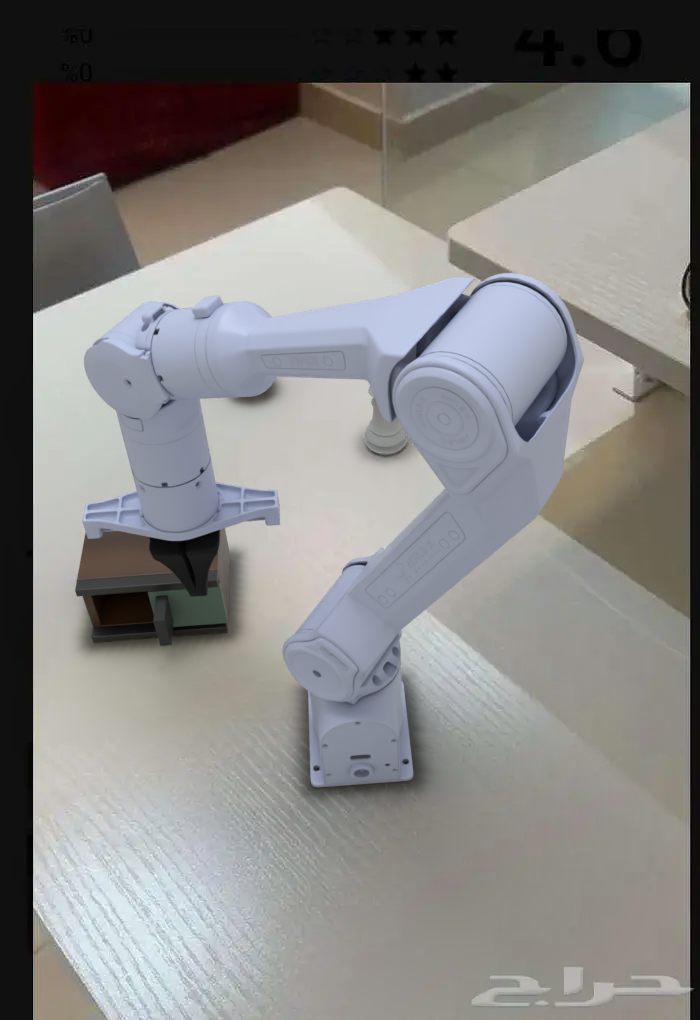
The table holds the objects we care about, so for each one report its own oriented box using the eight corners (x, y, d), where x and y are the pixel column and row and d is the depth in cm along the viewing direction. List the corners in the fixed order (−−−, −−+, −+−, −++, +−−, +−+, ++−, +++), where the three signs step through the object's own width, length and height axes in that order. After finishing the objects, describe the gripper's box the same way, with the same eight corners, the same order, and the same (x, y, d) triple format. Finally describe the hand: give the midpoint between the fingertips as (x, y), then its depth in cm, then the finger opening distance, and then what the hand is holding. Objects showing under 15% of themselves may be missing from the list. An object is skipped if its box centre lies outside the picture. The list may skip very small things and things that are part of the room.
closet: (227, 633, 94) (216, 580, 89) (92, 642, 94) (74, 590, 89) (230, 557, 100) (220, 504, 96) (104, 567, 100) (88, 514, 95)
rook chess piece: (358, 436, 112) (355, 375, 107) (397, 425, 113) (396, 364, 108) (374, 461, 109) (371, 400, 104) (414, 450, 110) (413, 389, 105)
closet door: (226, 648, 91) (219, 612, 88) (154, 653, 91) (144, 617, 88) (227, 618, 94) (220, 581, 90) (157, 623, 94) (148, 587, 90)
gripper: (271, 418, 79) (288, 544, 88) (77, 432, 79) (114, 557, 88) (271, 482, 74) (289, 609, 83) (63, 497, 74) (105, 622, 83)
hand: (199, 587), depth 85 cm, fingers closed
